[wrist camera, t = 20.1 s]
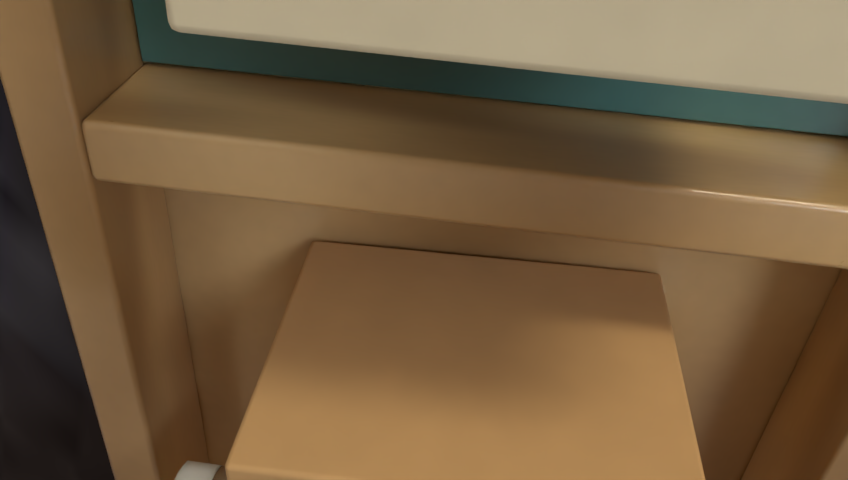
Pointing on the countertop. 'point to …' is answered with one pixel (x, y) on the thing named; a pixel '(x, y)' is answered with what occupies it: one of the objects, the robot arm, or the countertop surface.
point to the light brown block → (467, 374)
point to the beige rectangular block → (569, 37)
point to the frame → (417, 216)
